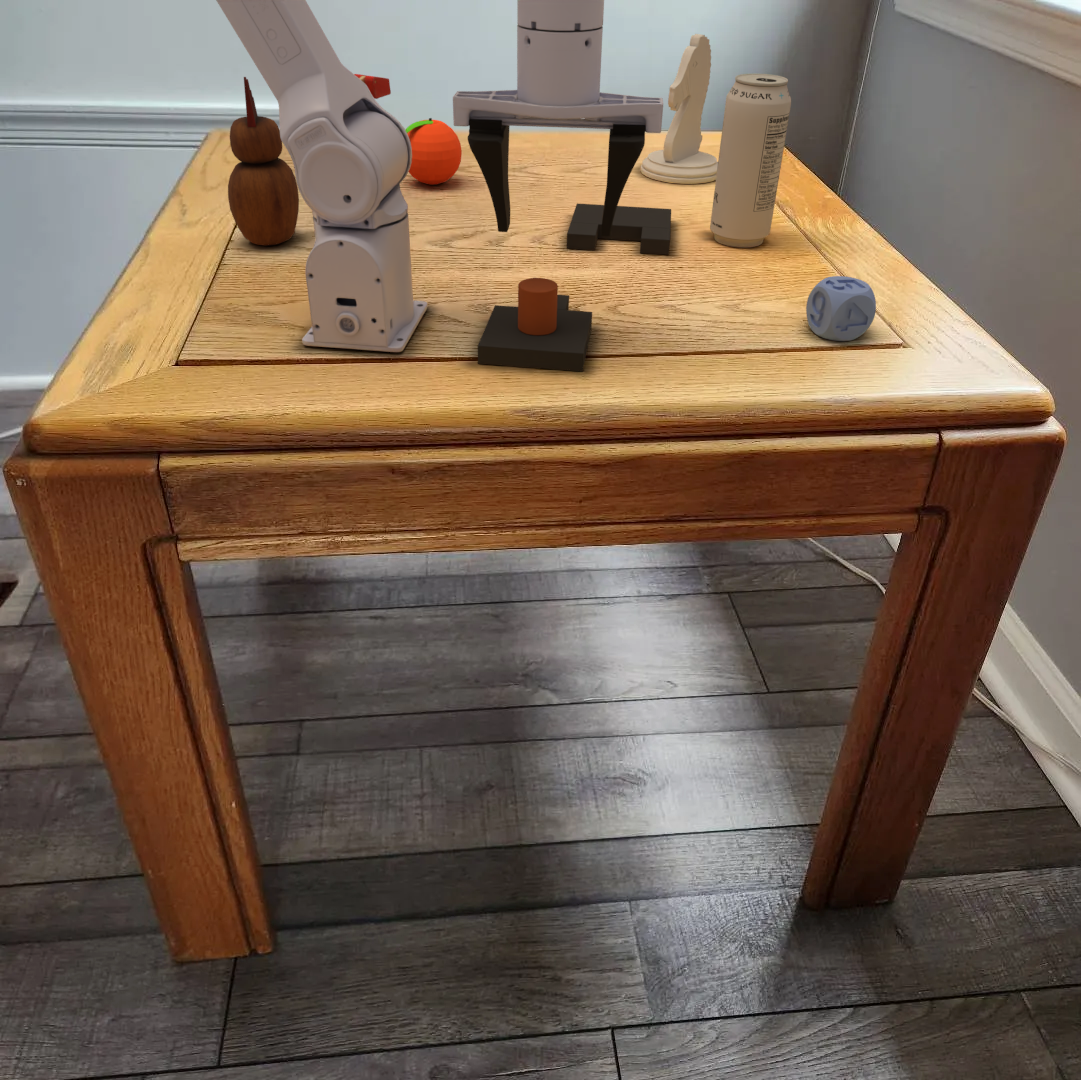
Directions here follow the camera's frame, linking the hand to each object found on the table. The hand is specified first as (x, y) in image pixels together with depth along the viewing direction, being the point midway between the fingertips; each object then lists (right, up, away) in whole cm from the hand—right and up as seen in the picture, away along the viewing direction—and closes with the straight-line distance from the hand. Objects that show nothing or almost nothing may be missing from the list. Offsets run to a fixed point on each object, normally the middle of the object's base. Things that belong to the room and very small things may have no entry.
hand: (555, 230), depth 71 cm
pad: (-1, -7, +5) cm, 9 cm away
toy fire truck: (-24, +22, +44) cm, 55 cm away
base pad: (+7, +8, +26) cm, 28 cm away
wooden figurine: (-28, +6, +22) cm, 36 cm away
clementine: (-14, +18, +39) cm, 45 cm away
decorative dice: (+23, -6, +7) cm, 25 cm away
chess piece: (+16, +22, +45) cm, 53 cm away
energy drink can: (+19, +7, +26) cm, 33 cm away
